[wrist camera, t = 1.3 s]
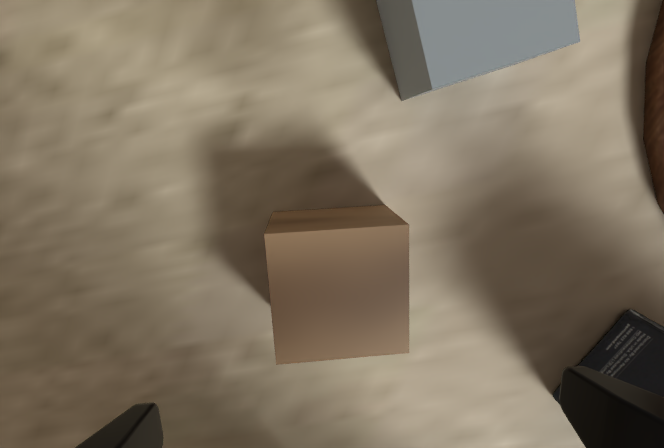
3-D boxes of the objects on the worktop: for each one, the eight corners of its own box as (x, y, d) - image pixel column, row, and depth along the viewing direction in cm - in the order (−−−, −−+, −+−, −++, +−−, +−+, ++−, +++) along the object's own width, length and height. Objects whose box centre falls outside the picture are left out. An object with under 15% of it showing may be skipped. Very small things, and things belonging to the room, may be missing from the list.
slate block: (512, 65, 16) (580, 41, 12) (400, 101, 16) (432, 89, 12) (489, -65, 15) (555, -138, 11) (368, -26, 15) (392, -85, 11)
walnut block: (385, 306, 18) (409, 352, 14) (282, 314, 18) (276, 364, 14) (384, 204, 17) (409, 224, 13) (273, 211, 16) (263, 234, 13)
